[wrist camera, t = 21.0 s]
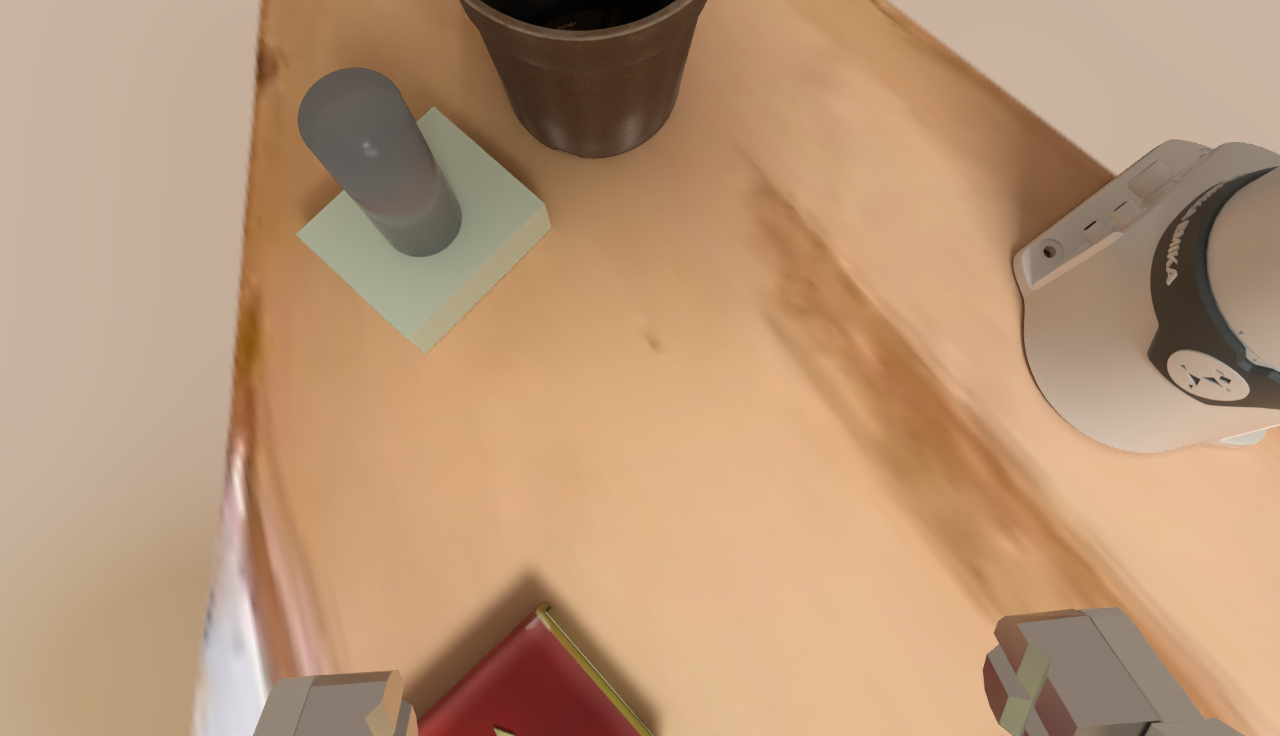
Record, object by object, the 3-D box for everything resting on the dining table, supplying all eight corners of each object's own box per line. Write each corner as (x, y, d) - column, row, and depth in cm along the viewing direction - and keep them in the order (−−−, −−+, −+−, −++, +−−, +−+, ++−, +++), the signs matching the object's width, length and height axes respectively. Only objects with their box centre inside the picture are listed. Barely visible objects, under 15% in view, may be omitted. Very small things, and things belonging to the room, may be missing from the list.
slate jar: (423, 167, 48) (355, 48, 36) (478, 217, 47) (427, 112, 35) (365, 220, 47) (275, 117, 35) (420, 272, 46) (347, 184, 35)
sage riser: (448, 137, 53) (433, 106, 49) (551, 228, 51) (544, 203, 47) (321, 256, 51) (295, 234, 47) (425, 354, 49) (407, 339, 45)
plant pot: (617, -57, 56) (611, -286, 40) (755, 99, 53) (806, -79, 38) (437, 62, 54) (355, -130, 38) (571, 230, 51) (543, 99, 35)
